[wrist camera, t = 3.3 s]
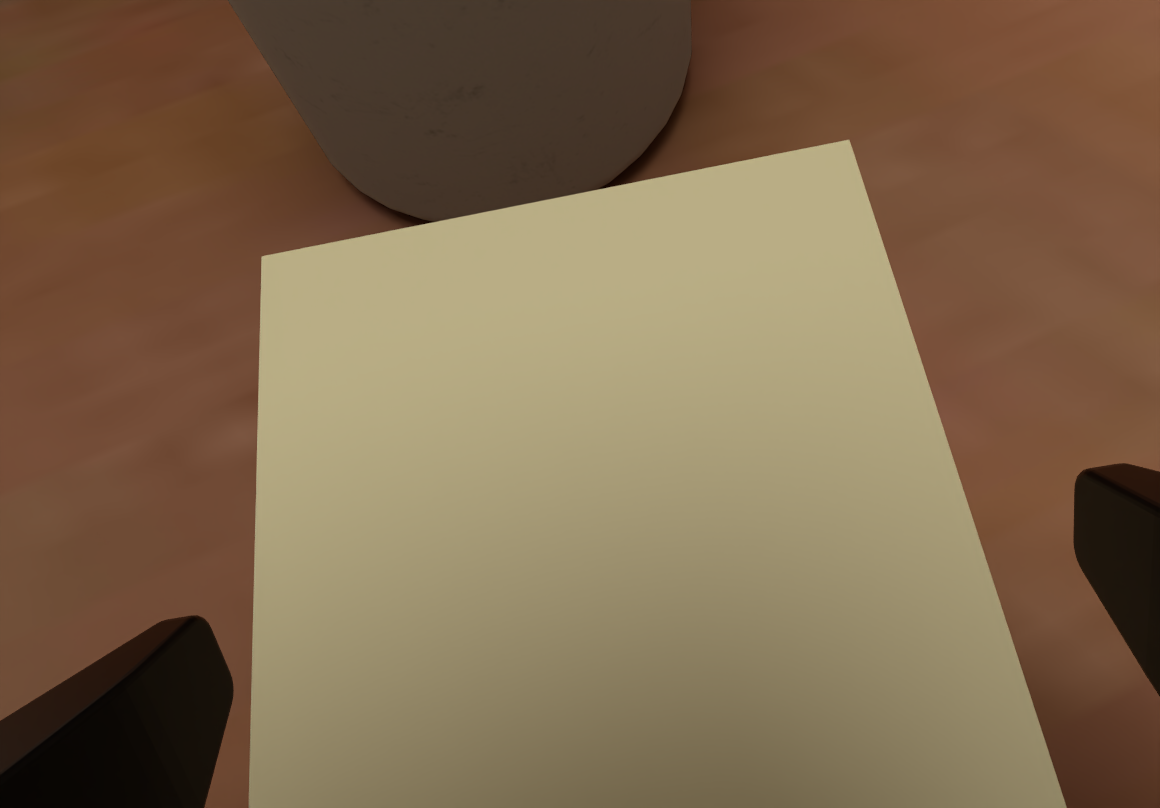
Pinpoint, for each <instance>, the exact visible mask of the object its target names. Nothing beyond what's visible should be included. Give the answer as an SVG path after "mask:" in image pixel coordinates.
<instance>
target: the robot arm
mask: <svg viewBox="0 0 1160 808" xmlns="http://www.w3.org/2000/svg"><path fill="white" fill-rule="evenodd" d="M1074 550H1075V554H1076V558H1077V561H1078V563H1079V566H1080V567H1081V569H1082V571H1083V573H1084V574H1085V576H1086V578H1087V579H1088V581H1089V583H1090V584H1091V586H1092V587H1093V589H1094V591H1095V592H1096V594H1097V596H1098V597H1099V599H1100V601H1101V602H1102V604H1103V606H1104V607H1105V609H1106V610H1107V612H1108V614H1109V615H1110V617H1111V619H1112V620H1113V622H1114V624H1115V625H1116V627H1117V629H1118V630H1119V632H1120V633H1121V635H1122V637H1123V638H1124V640H1125V642H1126V643H1127V645H1128V647H1129V648H1130V650H1131V651H1132V653H1133V655H1134V656H1135V658H1136V660H1137V661H1138V663H1139V665H1140V666H1141V668H1142V670H1143V671H1144V673H1145V674H1146V676H1147V678H1148V679H1149V681H1150V682H1151V684H1152V685H1153V687H1154V688H1155V690H1156V691H1157V693H1158V694H1159V696H1160V472H1159V471H1155V470H1151V469H1147V468H1143V467H1139V466H1135V465H1131V464H1125V463H1122V464H1113V465H1107V466H1101V467H1095V468H1089V469H1086V470H1083V471H1082V472H1081V473H1080V474H1079V475H1078V476H1077V479H1076V482H1075V492H1074ZM233 691H234V690H233V681H232V677H231V673H230V671H229V669H228V666H227V664H226V662H225V659H224V657H223V655H222V652H221V650H220V648H219V645H218V643H217V640H216V638H215V636H214V633H213V631H212V629H211V627H210V625H209V623H208V622H207V621H206V620H205V619H204V618H202V617H200V616H198V615H194V616H186V617H180V618H174V619H168V620H164V621H161V622H159V623H157V624H156V625H154V626H152V627H151V628H149V629H147V630H146V631H144V632H143V633H141V634H139V635H138V636H136V637H135V638H133V639H131V640H130V641H128V642H127V643H125V644H123V645H122V646H120V647H118V648H117V649H115V650H114V651H112V652H110V653H109V654H107V655H106V656H104V657H102V658H101V659H99V660H98V661H96V662H94V663H93V664H91V665H89V666H88V667H86V668H85V669H83V670H81V671H80V672H78V673H77V674H75V675H73V676H72V677H70V678H69V679H67V680H65V681H64V682H62V683H61V684H59V685H57V686H56V687H54V688H52V689H51V690H49V691H48V692H46V693H44V694H43V695H41V696H40V697H38V698H36V699H35V700H33V701H32V702H30V703H28V704H27V705H25V706H23V707H22V708H20V709H19V710H17V711H15V712H14V713H12V714H11V715H9V716H7V717H6V718H4V719H3V720H1V721H0V808H204V807H205V803H206V799H207V795H208V791H209V788H210V784H211V780H212V776H213V773H214V769H215V765H216V761H217V757H218V754H219V750H220V746H221V742H222V739H223V735H224V731H225V727H226V723H227V720H228V716H229V712H230V708H231V705H232V700H233Z"/></svg>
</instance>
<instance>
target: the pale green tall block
mask: <svg viewBox="0 0 1160 808" xmlns="http://www.w3.org/2000/svg"><path fill="white" fill-rule="evenodd" d="M249 808H1067V807H1066V804H1065V801H1064V798H1063V795H1062V791H1061V788H1060V785H1059V782H1058V779H1057V776H1056V773H1055V770H1054V767H1053V764H1052V761H1051V758H1050V755H1049V752H1048V748H1047V745H1046V742H1045V739H1044V736H1043V733H1042V730H1041V727H1040V724H1039V721H1038V718H1037V715H1036V712H1035V709H1034V706H1033V702H1032V699H1031V696H1030V693H1029V690H1028V687H1027V684H1026V681H1025V678H1024V675H1023V672H1022V669H1021V666H1020V663H1019V659H1018V656H1017V653H1016V650H1015V647H1014V644H1013V641H1012V638H1011V635H1010V632H1009V629H1008V626H1007V623H1006V620H1005V616H1004V613H1003V610H1002V607H1001V604H1000V601H999V598H998V595H997V592H996V589H995V586H994V583H993V580H992V577H991V574H990V570H989V567H988V564H987V561H986V558H985V555H984V552H983V549H982V546H981V543H980V540H979V537H978V534H977V531H976V527H975V524H974V521H973V518H972V515H971V512H970V509H969V506H968V503H967V500H966V497H965V494H964V491H963V488H962V484H961V481H960V478H959V475H958V472H957V469H956V466H955V463H954V460H953V457H952V454H951V451H950V448H949V445H948V442H947V438H946V435H945V432H944V429H943V426H942V423H941V420H940V417H939V414H938V411H937V408H936V405H935V402H934V399H933V395H932V392H931V389H930V386H929V383H928V380H927V377H926V374H925V371H924V368H923V365H922V362H921V359H920V356H919V352H918V349H917V346H916V343H915V340H914V337H913V334H912V331H911V328H910V325H909V322H908V319H907V316H906V313H905V310H904V306H903V303H902V300H901V297H900V294H899V291H898V288H897V285H896V282H895V279H894V276H893V273H892V270H891V267H890V263H889V260H888V257H887V254H886V251H885V248H884V245H883V242H882V239H881V236H880V233H879V230H878V227H877V224H876V220H875V217H874V214H873V211H872V208H871V205H870V202H869V199H868V196H867V193H866V190H865V187H864V184H863V181H862V178H861V174H860V171H859V168H858V165H857V162H856V159H855V156H854V153H853V150H852V147H851V144H850V141H849V140H845V141H840V142H835V143H830V144H825V145H820V146H815V147H810V148H805V149H800V150H795V151H790V152H785V153H780V154H775V155H770V156H765V157H760V158H755V159H750V160H745V161H740V162H735V163H730V164H725V165H720V166H715V167H710V168H705V169H700V170H695V171H689V172H684V173H679V174H674V175H669V176H664V177H659V178H654V179H649V180H644V181H639V182H634V183H629V184H624V185H619V186H614V187H609V188H604V189H599V190H594V191H589V192H584V193H579V194H574V195H569V196H564V197H559V198H554V199H549V200H544V201H539V202H534V203H528V204H523V205H518V206H513V207H508V208H503V209H498V210H493V211H488V212H483V213H478V214H473V215H468V216H463V217H458V218H453V219H448V220H443V221H438V222H433V223H428V224H423V225H418V226H413V227H408V228H403V229H398V230H393V231H388V232H383V233H378V234H372V235H367V236H362V237H357V238H352V239H347V240H342V241H337V242H332V243H327V244H322V245H317V246H312V247H307V248H302V249H297V250H292V251H287V252H282V253H277V254H272V255H267V256H262V267H261V309H260V351H259V394H258V436H257V478H256V521H255V563H254V605H253V648H252V690H251V732H250V774H249Z"/></svg>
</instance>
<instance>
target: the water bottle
mask: <svg viewBox="0 0 1160 808" xmlns="http://www.w3.org/2000/svg"><path fill="white" fill-rule="evenodd" d="M228 1H229V3H230V5H231V6H232V8H233V9H234V11H235V12H236V14H237V16H238V17H239V19H240V20H241V22H242V23H243V25H244V27H245V28H246V30H247V31H248V33H249V35H250V36H251V38H252V39H253V41H254V42H255V44H256V46H257V47H258V49H259V50H260V52H261V54H262V55H263V57H264V58H265V60H266V61H267V63H268V65H269V66H270V68H271V69H272V71H273V72H274V74H275V76H276V77H277V79H278V80H279V82H280V84H281V85H282V87H283V88H284V90H285V91H286V93H287V95H288V96H289V98H290V99H291V101H292V103H293V104H294V106H295V107H296V109H297V110H298V112H299V114H300V115H301V117H302V118H303V120H304V121H305V123H306V125H307V126H308V128H309V129H310V131H311V133H312V134H313V136H314V137H315V139H316V140H317V142H318V144H319V145H320V147H321V148H322V150H323V152H324V153H325V155H326V156H327V158H328V159H329V161H330V163H331V164H332V165H333V166H334V167H335V168H336V169H337V170H338V171H339V172H340V173H341V174H342V175H343V176H344V177H345V178H346V179H347V180H348V181H350V182H351V183H352V184H353V185H354V186H355V187H356V188H357V189H358V190H359V191H361V192H362V193H364V194H366V195H367V196H369V197H371V198H372V199H374V200H376V201H378V202H379V203H381V204H383V205H384V206H386V207H388V208H390V209H393V210H396V211H399V212H402V213H405V214H408V215H411V216H414V217H417V218H420V219H423V220H428V221H434V222H438V221H443V220H448V219H453V218H458V217H463V216H468V215H473V214H478V213H483V212H488V211H493V210H498V209H503V208H508V207H513V206H518V205H523V204H528V203H534V202H539V201H544V200H549V199H554V198H559V197H564V196H569V195H574V194H579V193H584V192H589V191H594V190H598V189H599V188H601V187H603V186H604V185H606V184H608V183H609V182H611V181H612V180H613V179H614V178H615V177H617V176H618V175H619V174H620V173H621V172H622V171H624V170H625V169H626V168H627V167H628V166H629V165H631V164H632V163H633V162H634V161H635V160H636V159H638V158H639V157H640V156H641V155H642V154H643V152H644V151H645V150H646V149H647V147H648V146H649V145H650V144H651V142H652V141H653V140H654V139H655V137H656V136H657V135H658V134H659V132H660V131H661V130H662V129H663V128H664V126H665V125H666V123H667V121H668V119H669V118H670V116H671V114H672V112H673V110H674V108H675V106H676V104H677V102H678V100H679V98H680V96H681V94H682V90H683V86H684V83H685V78H686V74H687V70H688V66H689V62H690V58H691V54H692V50H691V0H228Z"/></svg>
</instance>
